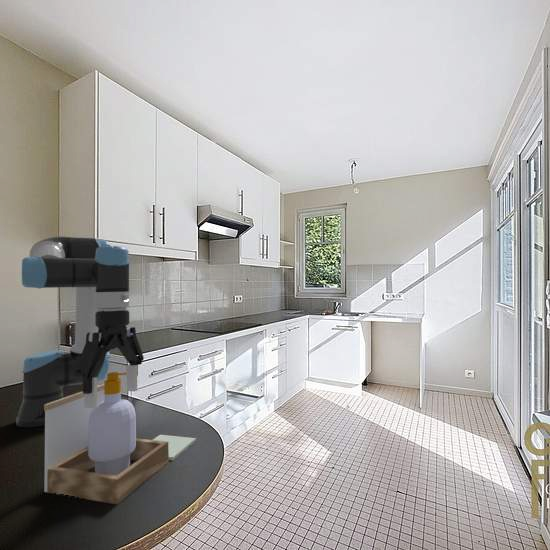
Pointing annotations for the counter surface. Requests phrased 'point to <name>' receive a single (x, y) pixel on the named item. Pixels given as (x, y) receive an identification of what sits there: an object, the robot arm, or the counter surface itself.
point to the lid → (66, 428)
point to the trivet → (176, 444)
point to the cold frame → (104, 487)
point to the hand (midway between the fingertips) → (112, 398)
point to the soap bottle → (112, 430)
